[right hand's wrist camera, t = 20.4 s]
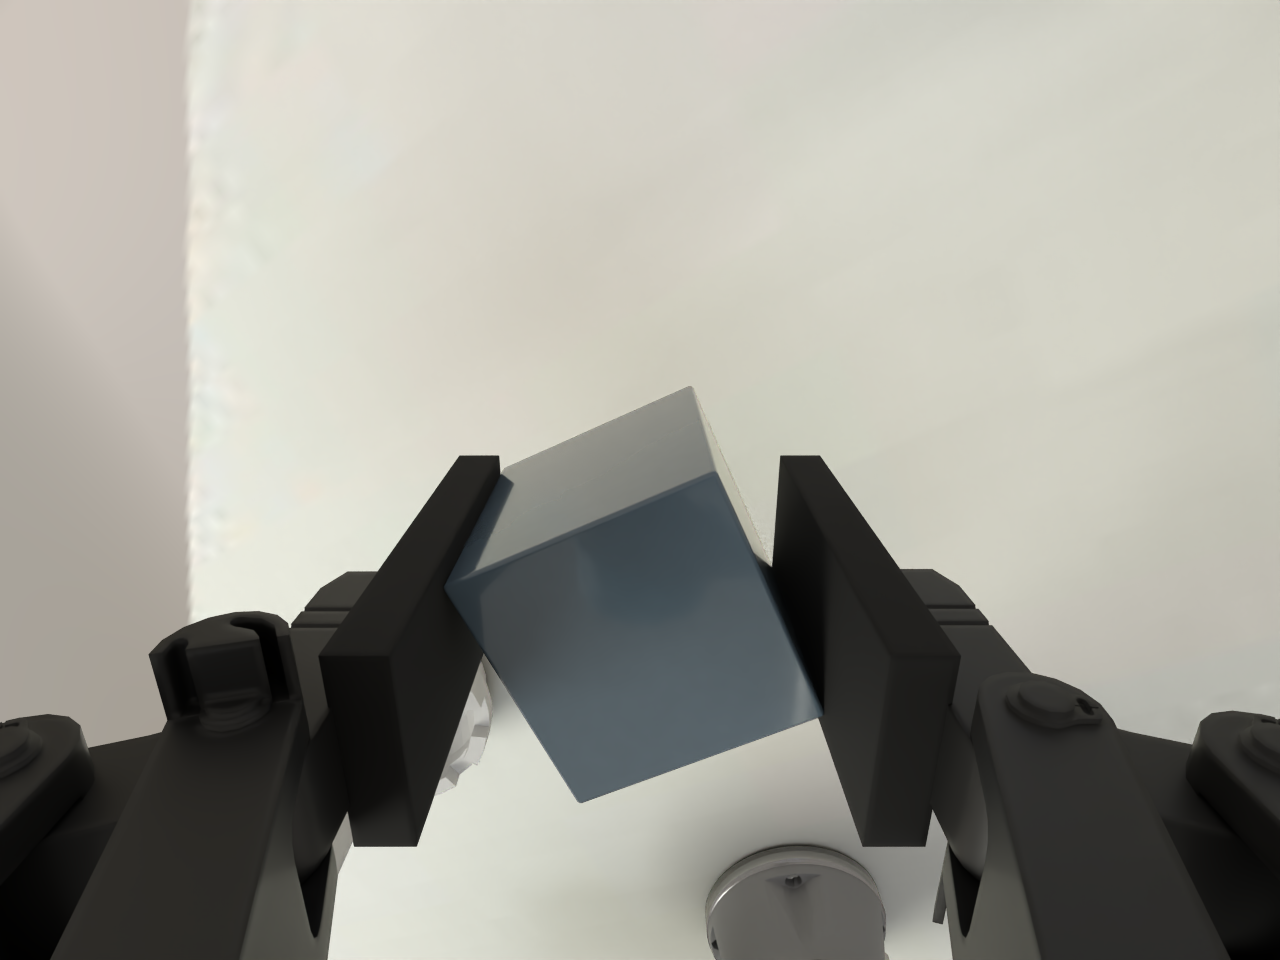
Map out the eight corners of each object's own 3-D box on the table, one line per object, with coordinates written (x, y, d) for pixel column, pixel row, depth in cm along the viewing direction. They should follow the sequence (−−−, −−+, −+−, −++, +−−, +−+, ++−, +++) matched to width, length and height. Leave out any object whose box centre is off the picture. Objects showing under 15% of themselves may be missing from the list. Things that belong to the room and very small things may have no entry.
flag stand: (535, 672, 54) (425, 1178, 26) (434, 774, 58) (243, 1313, 30) (390, 571, 51) (91, 1024, 23) (292, 685, 55) (-67, 1196, 27)
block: (771, 565, 15) (827, 716, 10) (595, 635, 15) (577, 805, 11) (691, 384, 14) (716, 470, 9) (502, 468, 14) (439, 587, 10)
